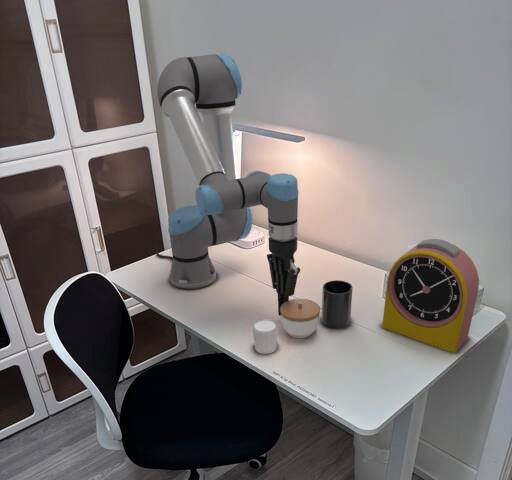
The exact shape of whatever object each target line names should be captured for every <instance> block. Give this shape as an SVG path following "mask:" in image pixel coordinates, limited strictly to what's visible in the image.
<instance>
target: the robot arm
mask: <svg viewBox="0 0 512 480" xmlns="http://www.w3.org/2000/svg"><path fill="white" fill-rule="evenodd" d="M241 75H242V74H241V71H240V69H239V67H238V64H237V63H236V61H235V59H233V57H232V56H230V55H228V54H223V53H222V54H221V53H213V54H207V55H205V54H204V55H196V56H186V57H185V56H183V57H178V58H177V57H176V58H175V59H172V60H171V61H170V62H168V64H166V65H165V67H164V68H163V70H162V71H161V74H160V75H159V78H158V82H157V89H156V90H157V91H156V92H157V101H158V104H159V106H160V107H159V108H160V109H161V111H162V113H163V114H164V116H165V117H167V118H169V120H170V122H171V125H172V127H173V129H174V131H175V134H176V136H177V138H178V141H179V143H180V146H181V147H182V149H183V152H184V154H185V157H186V159H187V161H188V163H189V165H190V168H191V171H192V172H193V174H194V177H195V179H196V182H197V184H198V186H197V187H196V188H195V193H194V195H195V196H194V197H195V202H196V204H195V205H186V206H183V207H179V208H177V209H175V210H173V212H171V213H170V214H169V216H168V219H167V223H168V225H167V226H168V229H167V230H168V234H169V241H170V248H171V254H172V256H169V255H163V254H159V251H158V248H154V252H155V254H156V256H157V257H159V258H162V259H163V258H164V259H170V260H172V262H171V267H170V272H169V280H170V281H169V282H170V284H171V285H172V286H173V287H175V288H178V289H182V290H197V289H201V288H205V287H208V286H210V285H211V284H213V283H214V282H215V281H216V279H217V271H216V269H215V267H214V264H213V261H212V259H211V258H210V255H209V248H210V247H215V246H219V245H224V244H227V243H232V242H237V241H240V240H243V239H246V238H247V237H248V236H249V235H250V234H251V231H252V227H253V214H252V211H251V209H252V207H258V206H263V207H265V209H267V221H268V228H267V231H268V251H269V252H270V253H267V254H266V259H267V262H268V266H269V272H270V278H271V279H270V280H271V285H272V289H273V290H275V292H276V294H277V314H278V316H279V317H281V313H280V307H281V306H282V304H283V303H285V302H287V301H289V300H290V297H291V296H294V295H295V291H296V286H297V282H298V281H297V280H298V277H299V274H300V273H301V267H299V266H298V267H297V266H296V264H295V257H294V254H295V253H296V252H297V250H298V233H299V232H298V230H299V229H298V226H299V225H298V223H299V221H298V217H299V216H298V215H299V213H298V212H299V187H298V185H299V184H298V178H297V177H296V176H295V175H293V174H291V173H290V174H289V173H275V174H272V175H271V174H270V173H268V172H265V171H262V170H253V171H251V172H249V173H248V174H247V175H246V177H239V178H238V174H237V163H236V152H235V150H236V149H235V140H234V128H233V118H232V116H233V115H232V112H233V110H234V109H235V108H236V106H237V105H236V104H237V103H236V99H239V98H240V97H241V94H242V90H243V81H242V76H241ZM199 113H200V114H201V117H200V114H199ZM201 118H202V119H201Z"/></svg>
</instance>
